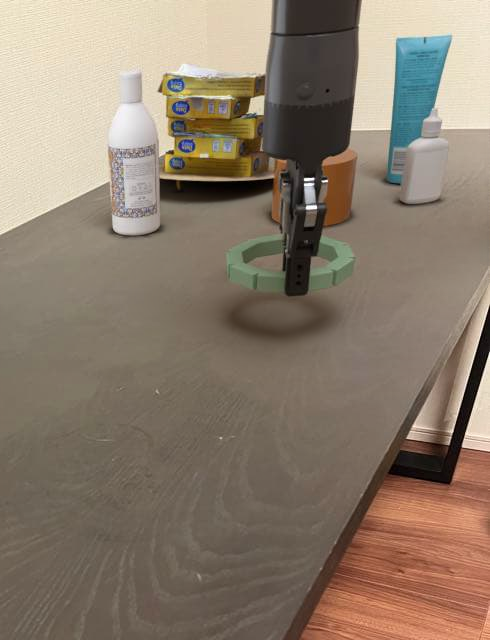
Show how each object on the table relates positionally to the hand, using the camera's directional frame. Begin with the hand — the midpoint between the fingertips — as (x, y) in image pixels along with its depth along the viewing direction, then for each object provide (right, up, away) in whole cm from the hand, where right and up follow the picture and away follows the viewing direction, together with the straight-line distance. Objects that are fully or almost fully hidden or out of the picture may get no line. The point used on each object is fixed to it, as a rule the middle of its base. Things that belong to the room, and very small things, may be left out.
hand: (294, 288), depth 78 cm
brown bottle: (+12, +22, +36) cm, 44 cm away
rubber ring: (+1, +3, +4) cm, 6 cm away
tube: (+29, +31, +46) cm, 62 cm away
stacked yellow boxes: (0, +34, +53) cm, 63 cm away
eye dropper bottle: (+28, +25, +37) cm, 53 cm away
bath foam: (-13, +20, +37) cm, 44 cm away
